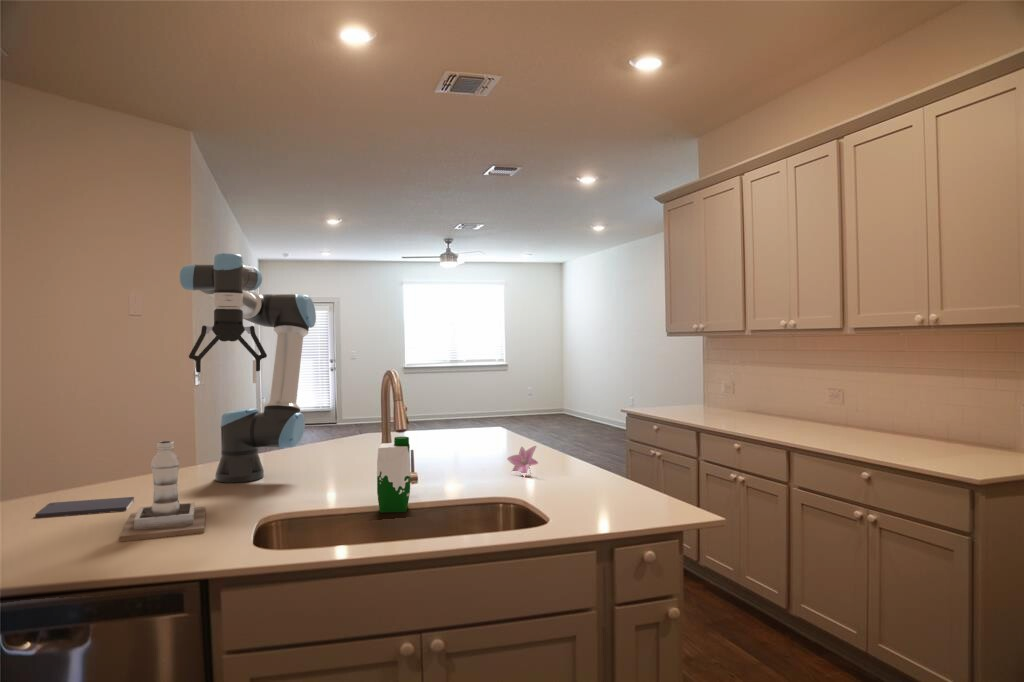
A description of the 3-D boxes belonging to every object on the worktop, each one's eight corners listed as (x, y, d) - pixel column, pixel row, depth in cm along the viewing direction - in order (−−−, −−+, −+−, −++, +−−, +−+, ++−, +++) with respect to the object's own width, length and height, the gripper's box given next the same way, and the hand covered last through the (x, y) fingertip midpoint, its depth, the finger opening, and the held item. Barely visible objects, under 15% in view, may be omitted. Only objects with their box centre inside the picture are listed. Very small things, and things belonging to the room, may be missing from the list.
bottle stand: (130, 518, 177) (130, 504, 177) (205, 510, 184) (205, 497, 184) (119, 541, 157) (119, 526, 157) (204, 532, 164) (204, 517, 164)
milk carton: (409, 513, 182) (409, 439, 182) (375, 513, 181) (375, 440, 181) (411, 504, 191) (411, 435, 191) (379, 505, 190) (379, 435, 190)
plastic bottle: (168, 524, 166) (168, 444, 166) (144, 522, 168) (144, 443, 168) (186, 517, 173) (185, 440, 173) (163, 516, 174) (163, 439, 174)
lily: (506, 473, 239) (499, 452, 234) (534, 459, 242) (528, 438, 238) (521, 490, 229) (514, 469, 224) (550, 475, 232) (544, 453, 228)
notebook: (35, 519, 177) (126, 512, 184) (35, 514, 177) (126, 506, 184) (49, 508, 189) (135, 501, 196) (49, 502, 189) (134, 496, 196)
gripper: (178, 307, 180) (178, 385, 180) (276, 308, 190) (276, 383, 190) (179, 308, 187) (180, 383, 187) (274, 309, 197) (274, 381, 197)
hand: (228, 383), depth 189 cm, fingers open, 13 cm apart
